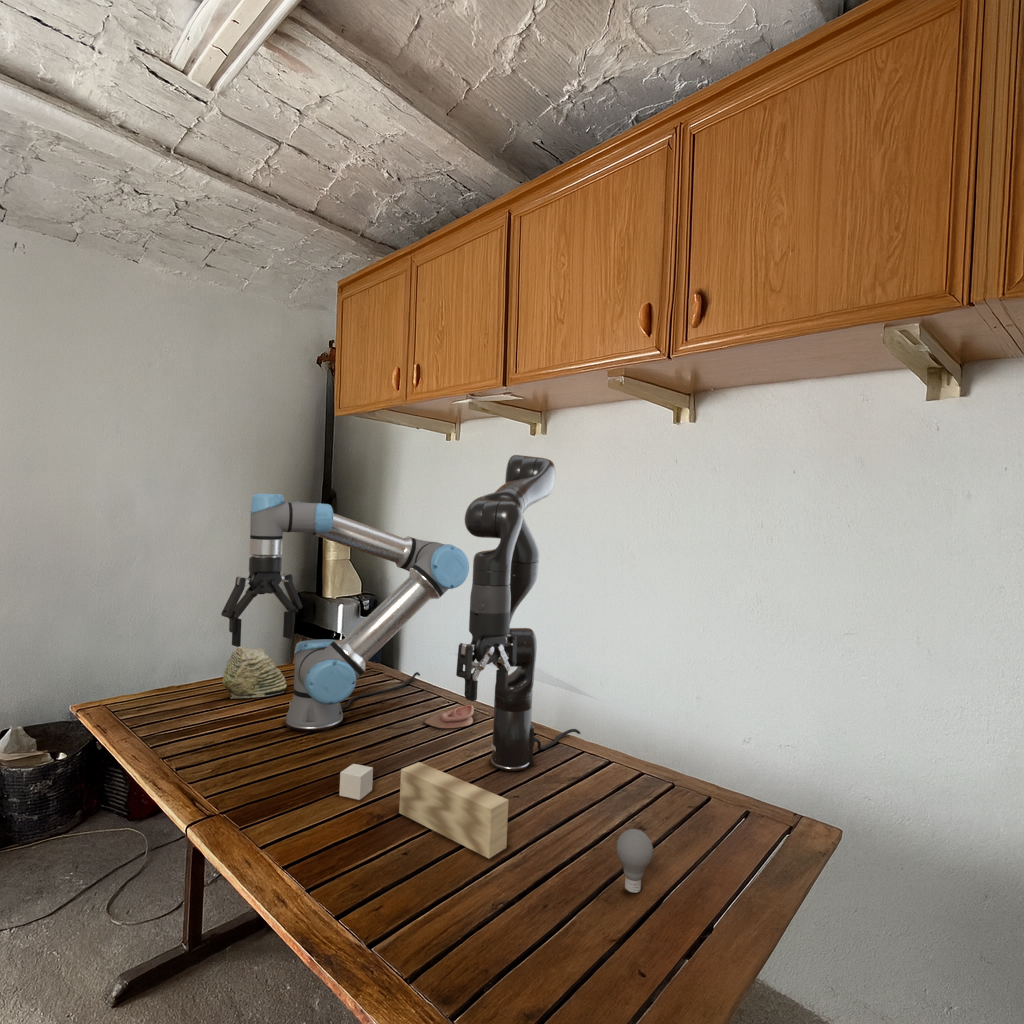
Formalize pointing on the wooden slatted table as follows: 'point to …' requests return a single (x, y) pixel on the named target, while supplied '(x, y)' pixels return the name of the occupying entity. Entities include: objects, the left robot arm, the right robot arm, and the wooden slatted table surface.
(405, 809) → the ash bar
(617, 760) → the wooden slatted table surface
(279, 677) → the fossil
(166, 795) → the wooden slatted table surface
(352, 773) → the white cube
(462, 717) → the anatomical model
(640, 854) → the light bulb
